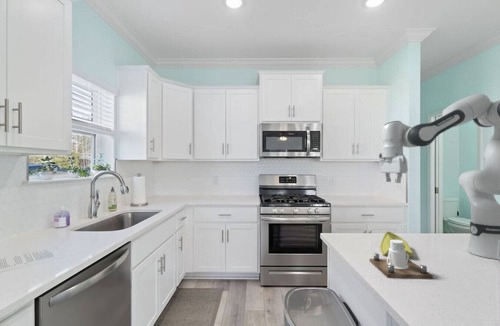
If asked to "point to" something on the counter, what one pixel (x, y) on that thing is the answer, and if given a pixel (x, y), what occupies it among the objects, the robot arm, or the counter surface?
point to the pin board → (391, 272)
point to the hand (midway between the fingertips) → (393, 182)
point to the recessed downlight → (397, 255)
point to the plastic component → (386, 244)
